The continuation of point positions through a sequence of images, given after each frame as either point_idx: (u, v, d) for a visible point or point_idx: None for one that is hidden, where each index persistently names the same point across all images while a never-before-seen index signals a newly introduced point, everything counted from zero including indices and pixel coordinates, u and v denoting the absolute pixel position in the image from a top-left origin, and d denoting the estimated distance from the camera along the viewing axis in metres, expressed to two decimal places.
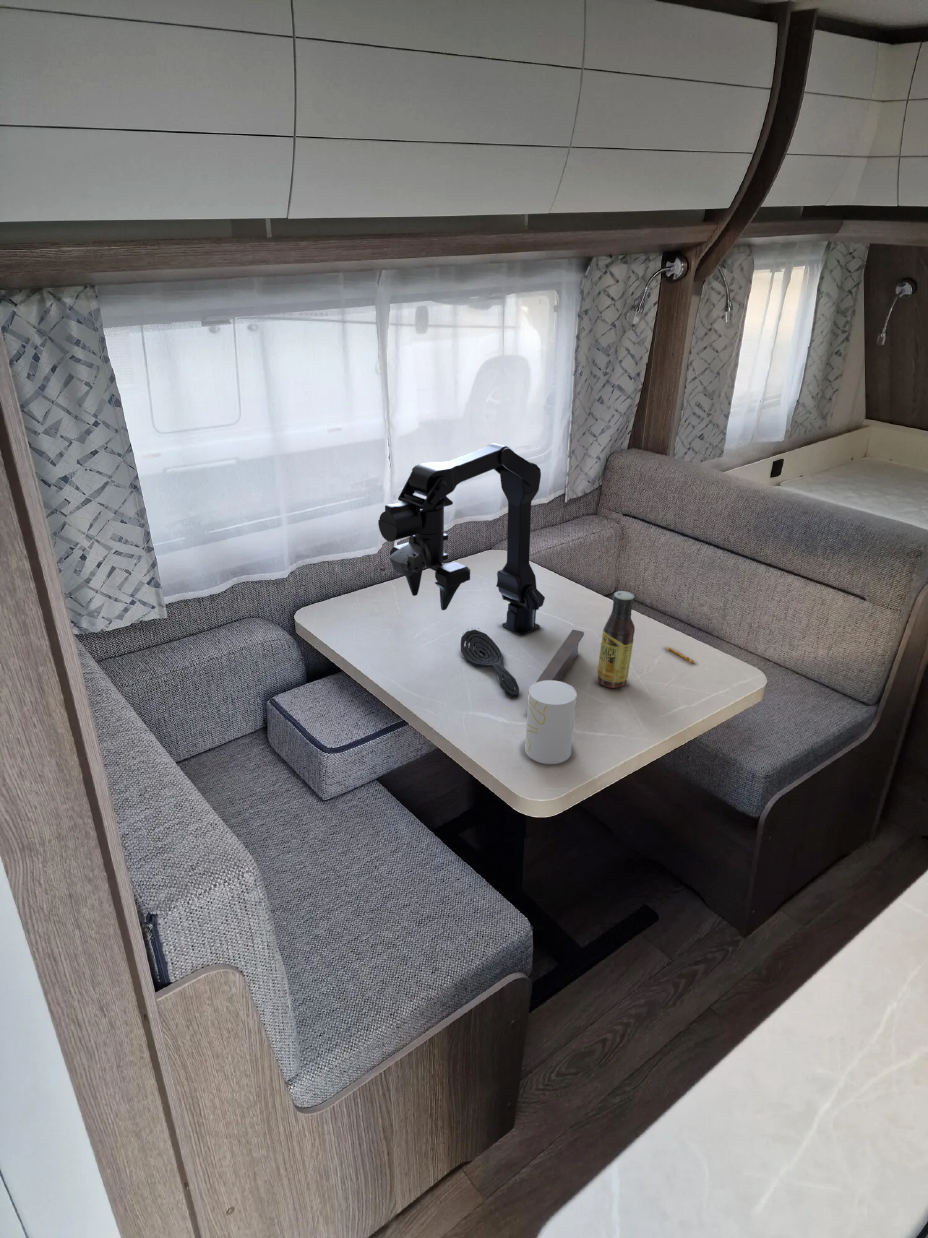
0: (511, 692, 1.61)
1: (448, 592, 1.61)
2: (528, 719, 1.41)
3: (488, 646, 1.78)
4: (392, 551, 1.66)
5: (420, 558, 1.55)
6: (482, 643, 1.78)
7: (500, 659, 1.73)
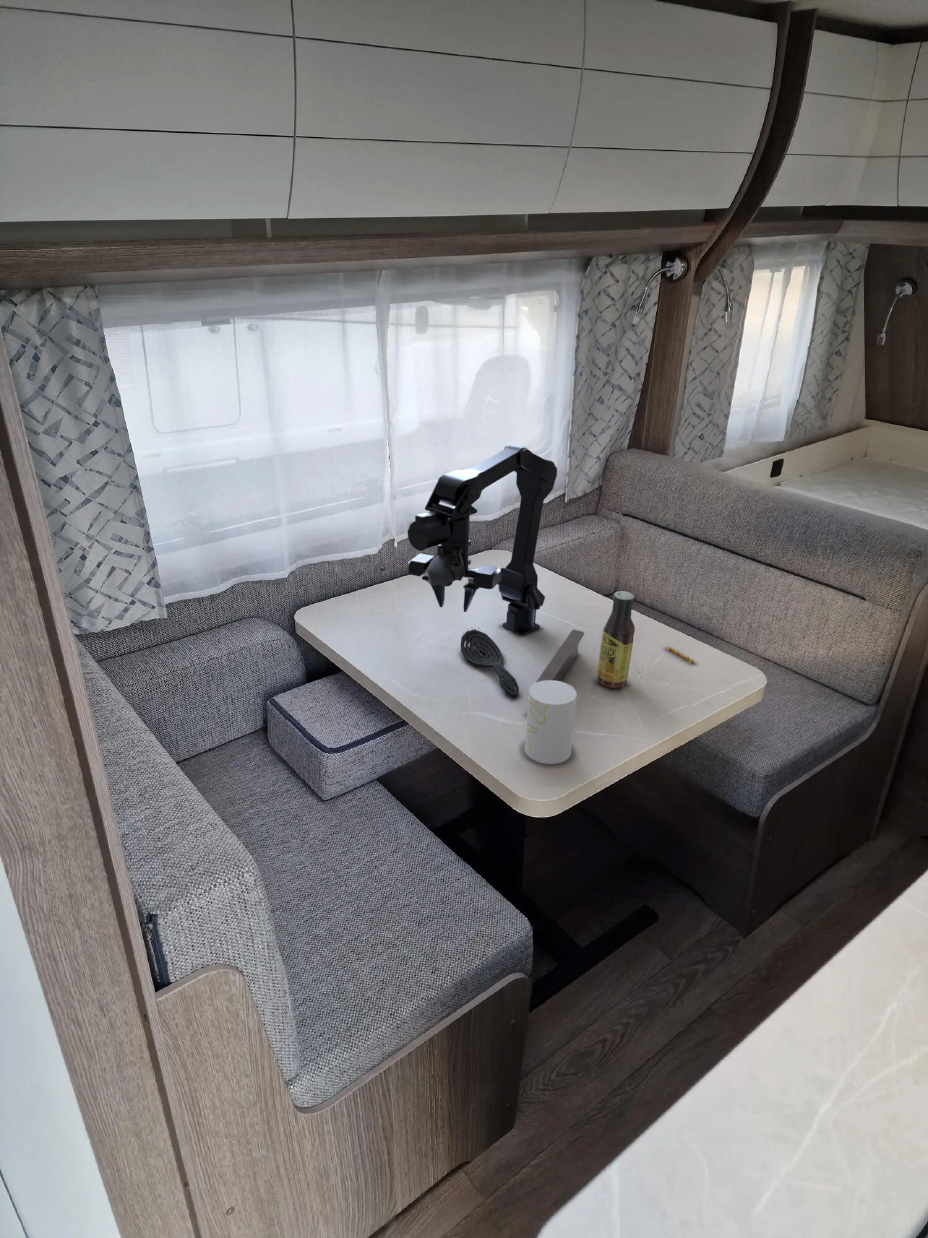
0: (511, 692, 1.61)
1: (471, 593, 1.66)
2: (528, 719, 1.41)
3: (488, 646, 1.78)
4: (411, 565, 1.66)
5: (462, 566, 1.58)
6: (482, 643, 1.78)
7: (500, 659, 1.73)
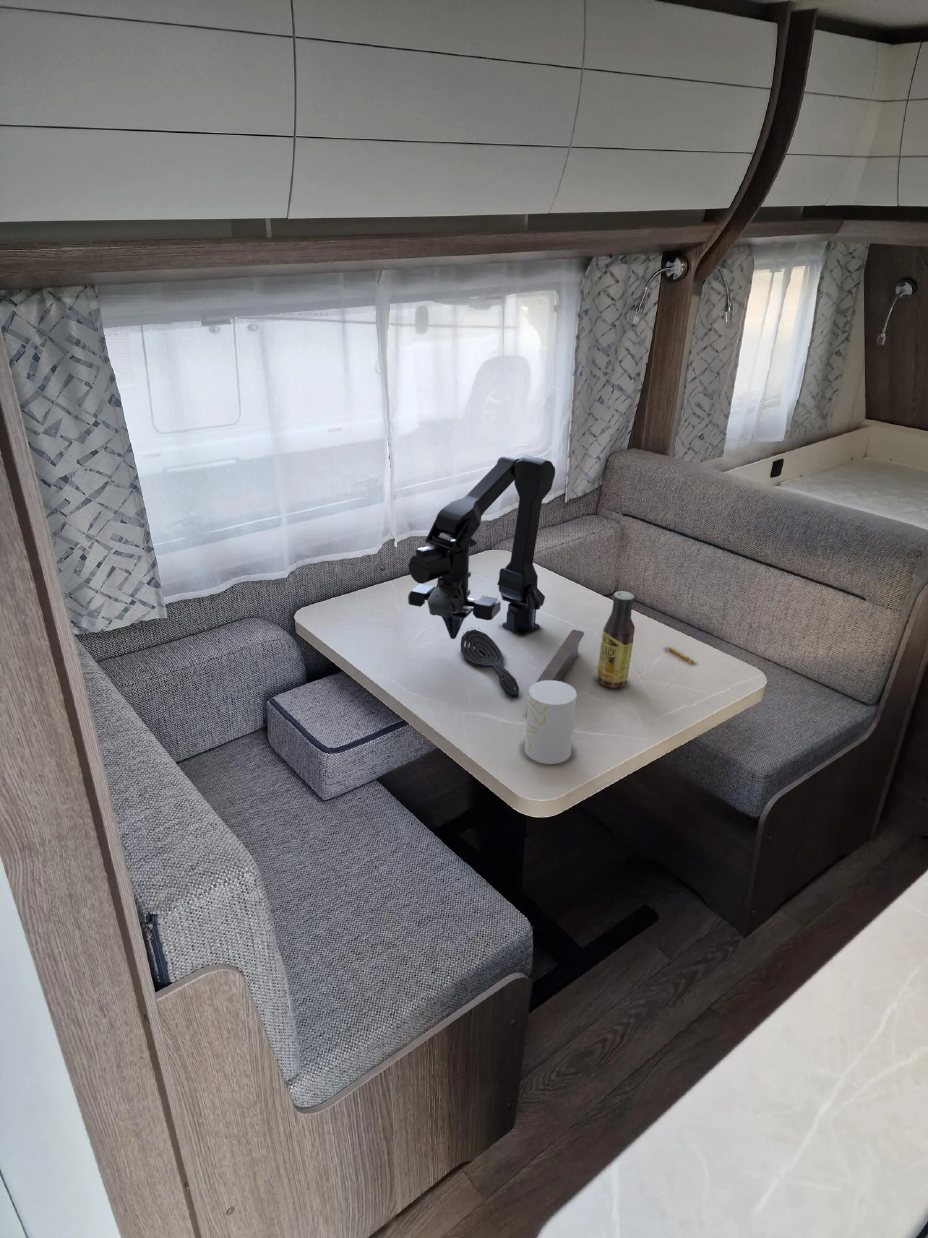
0: (511, 692, 1.61)
1: (459, 621, 1.70)
2: (528, 719, 1.41)
3: (488, 646, 1.78)
4: (412, 595, 1.69)
5: (462, 598, 1.61)
6: (482, 643, 1.78)
7: (500, 659, 1.73)
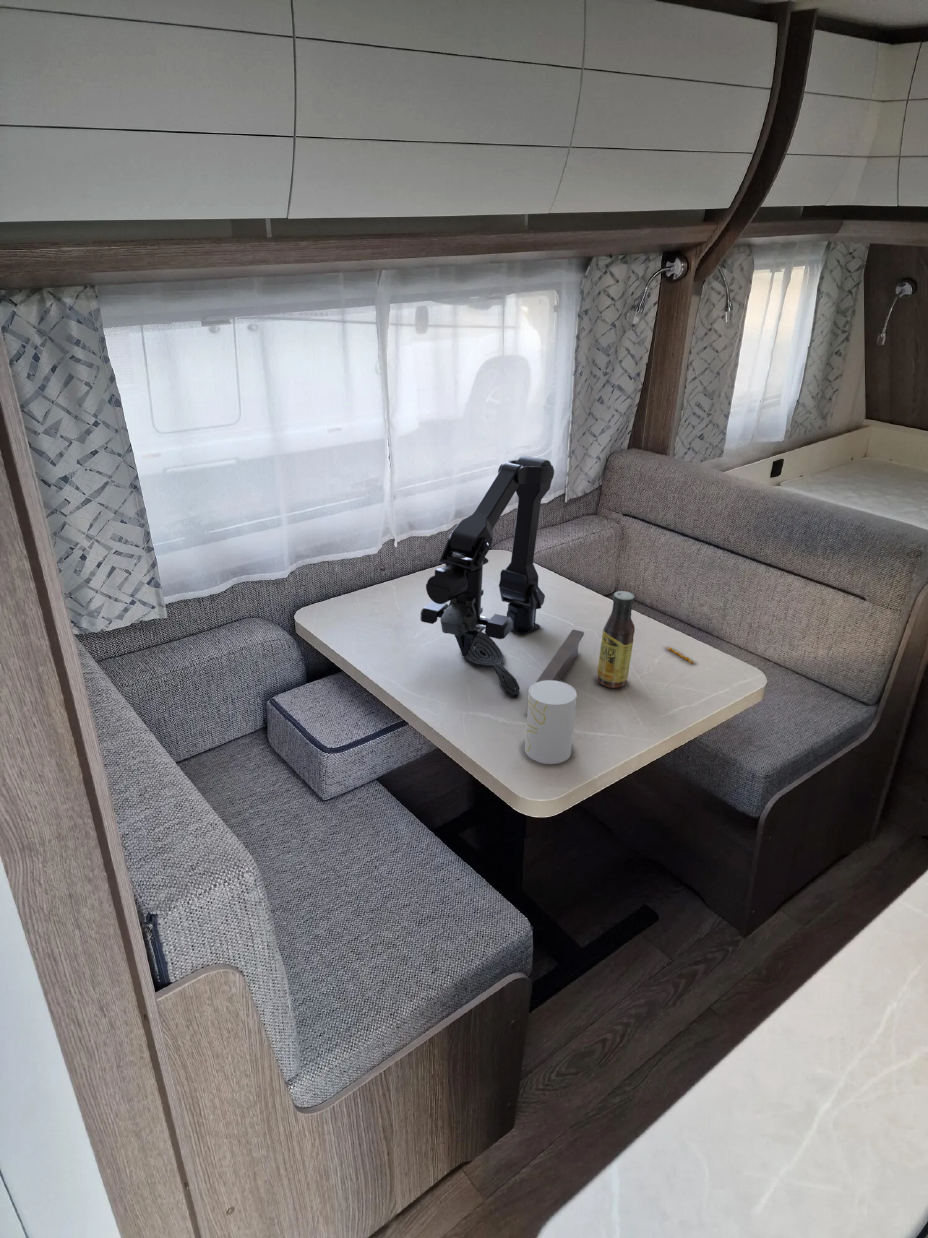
0: (511, 692, 1.61)
1: None
2: (528, 719, 1.41)
3: (488, 646, 1.78)
4: (424, 613, 1.69)
5: (475, 617, 1.61)
6: (482, 643, 1.78)
7: (500, 659, 1.73)
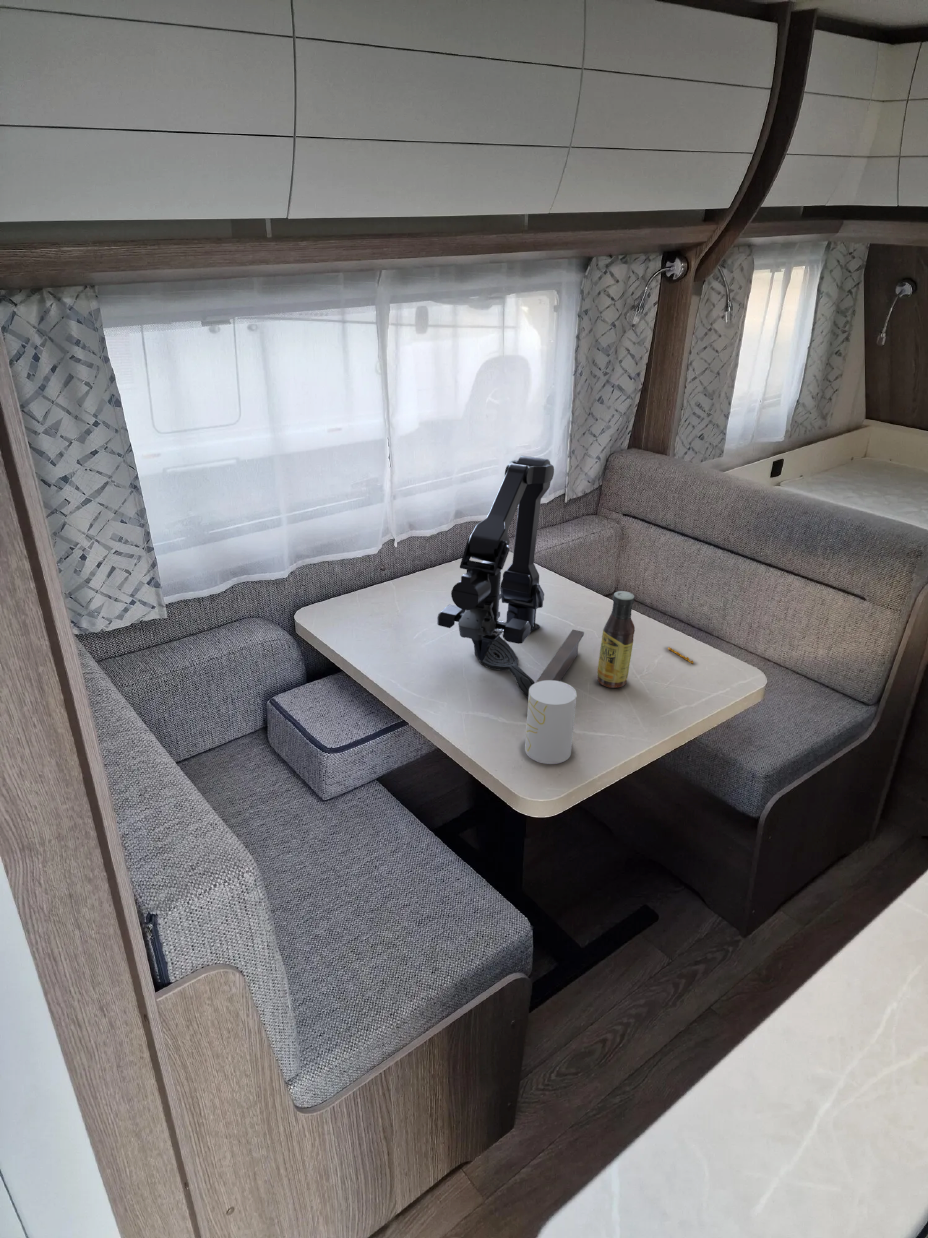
0: None
1: (488, 643, 1.69)
2: (528, 719, 1.41)
3: (502, 648, 1.77)
4: (441, 617, 1.68)
5: (493, 621, 1.60)
6: (495, 645, 1.78)
7: (515, 660, 1.73)
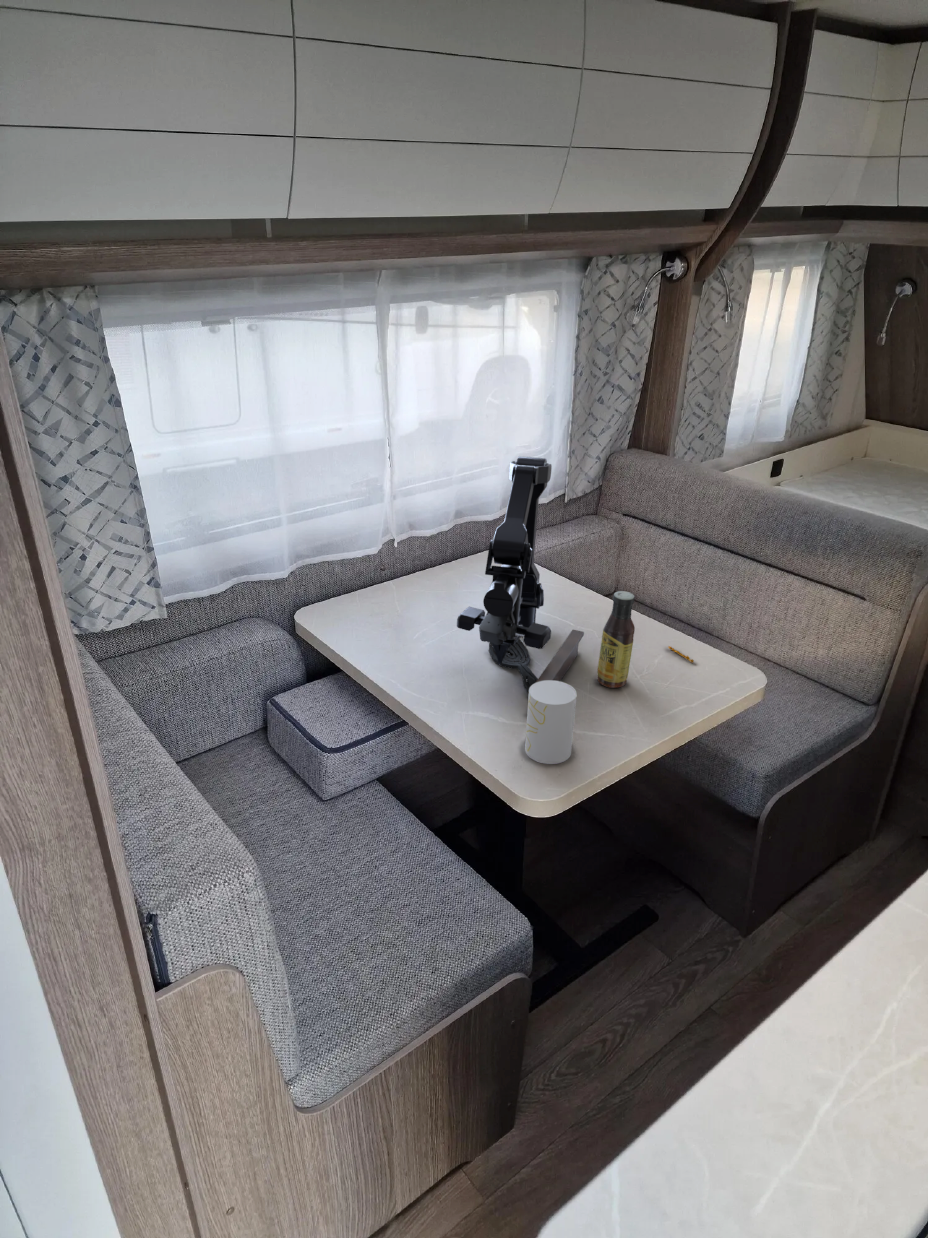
0: None
1: None
2: (528, 719, 1.41)
3: (516, 647, 1.78)
4: (461, 619, 1.66)
5: (514, 626, 1.58)
6: None
7: (527, 660, 1.73)
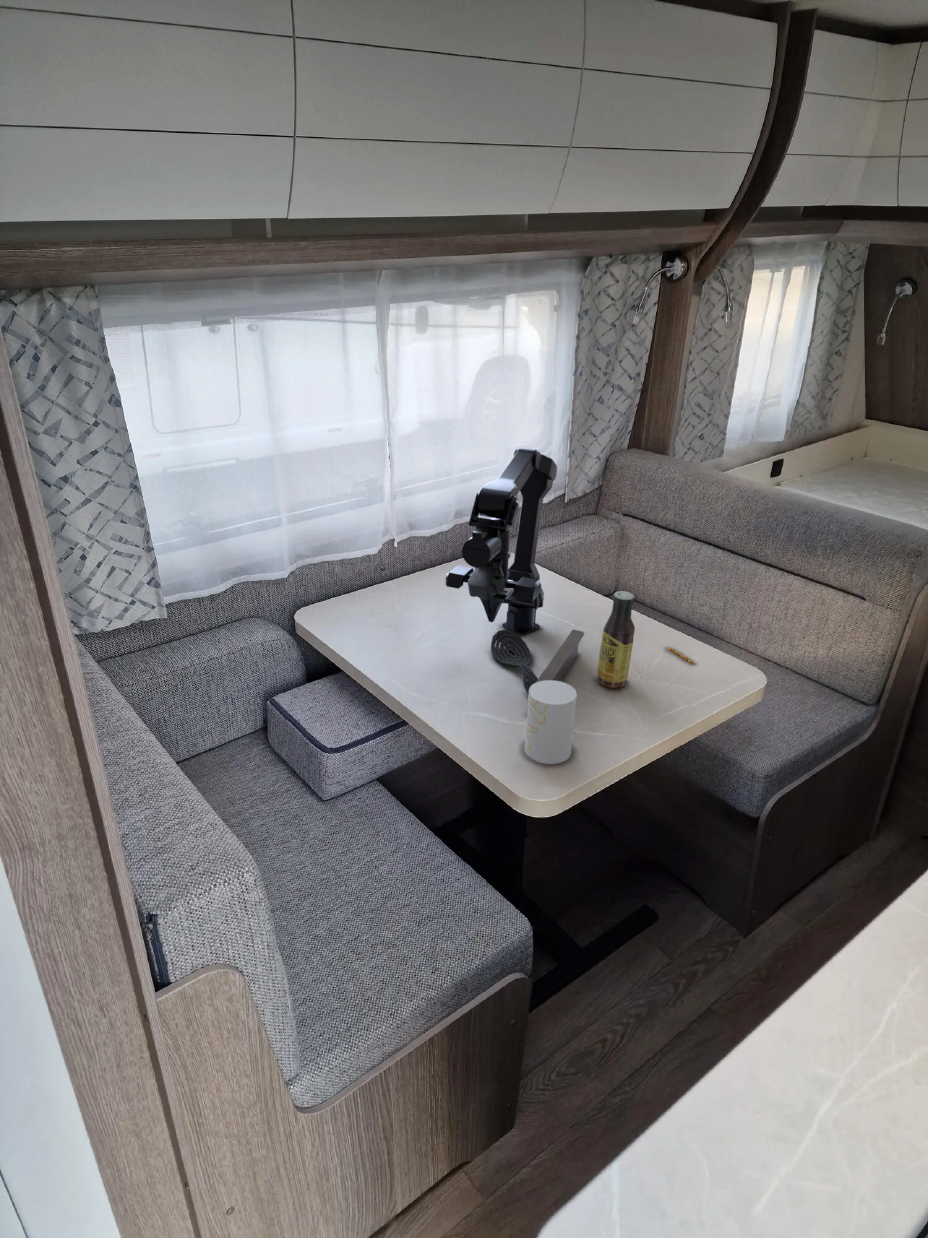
0: None
1: (498, 604, 1.66)
2: (528, 719, 1.41)
3: (518, 646, 1.78)
4: (450, 577, 1.64)
5: (503, 579, 1.56)
6: (513, 643, 1.79)
7: (528, 660, 1.73)
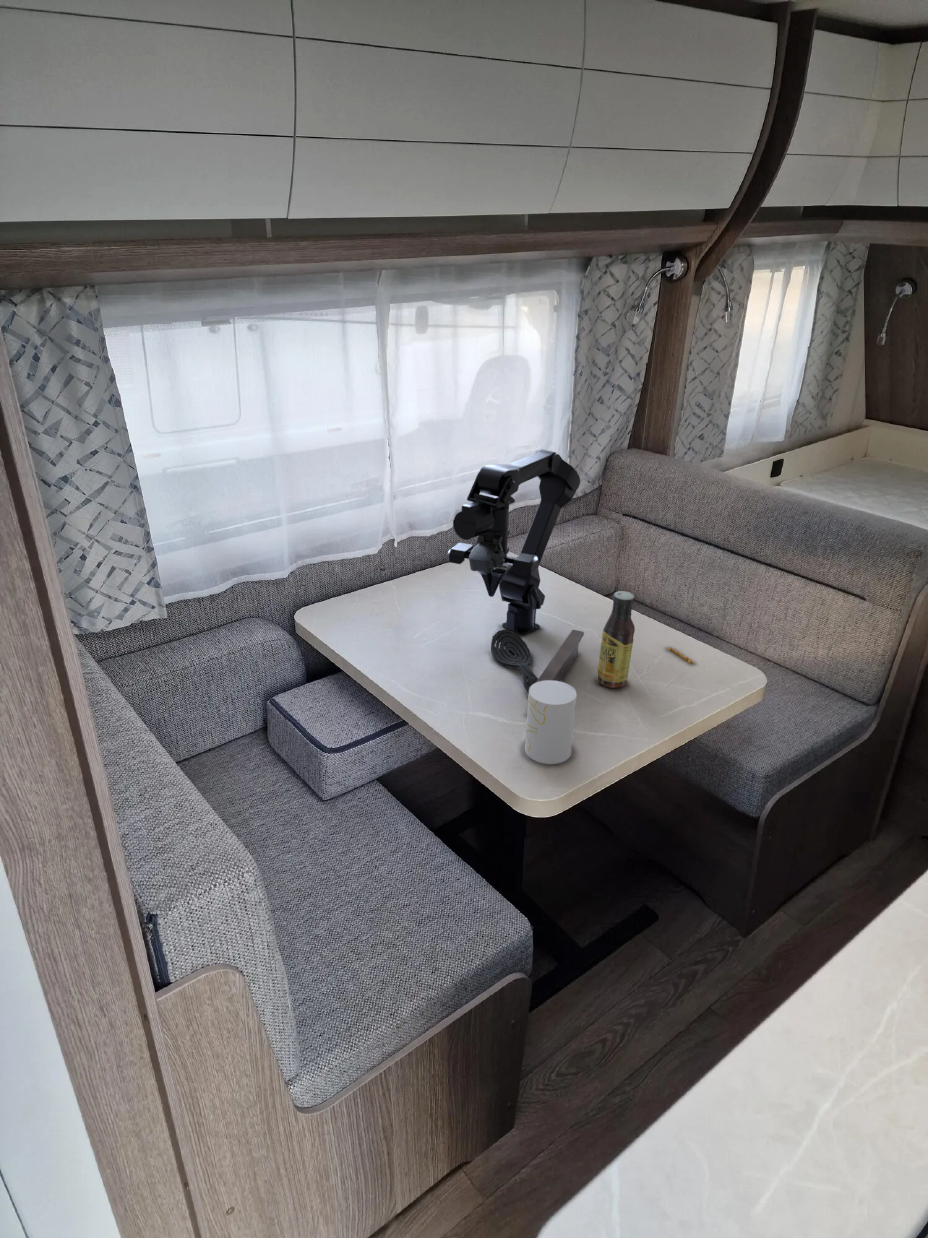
0: None
1: None
2: (528, 719, 1.41)
3: (518, 646, 1.78)
4: (452, 553, 1.72)
5: (503, 554, 1.64)
6: (513, 643, 1.79)
7: (528, 660, 1.73)
